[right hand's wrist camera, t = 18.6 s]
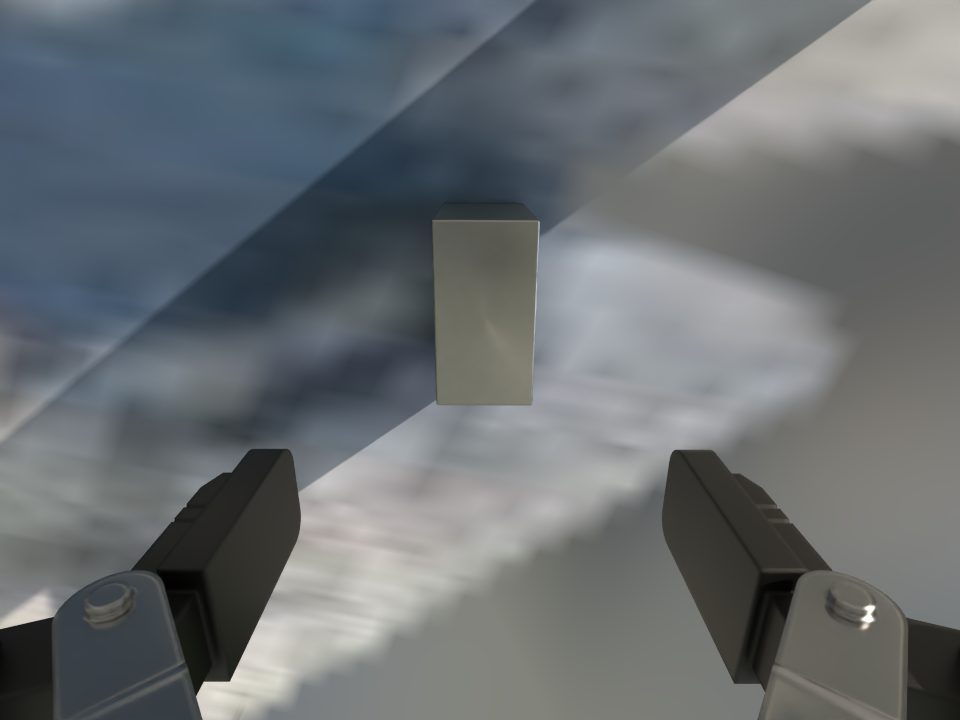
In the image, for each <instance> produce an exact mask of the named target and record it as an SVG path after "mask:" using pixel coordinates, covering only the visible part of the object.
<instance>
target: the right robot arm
mask: <svg viewBox="0 0 960 720" xmlns="http://www.w3.org/2000/svg"><path fill="white" fill-rule="evenodd" d="M300 522H301V511H300V504H299V497H298V490H297V483H296V475H295V468H294V461H293V456H292V454H291V452H290V450H289V449H251V450H249V451H248V453H247V454H246V455H245V456H244V458H243V459H242V460H241V461H240V463H239V464H238V465H237V467H236V468H235V469H234V470H233V472H232V473H222V474H221V475H219V476H218V477H216V478H214V479H213V480H211V481H210V482H208V483H207V484H205V485H204V486H202V487H201V488H200V489H199V490H198V491H197V493H196V494H195V495H194V496H193V497H192V498H191V500H190V501H189V502H188V503H187V507H186V508H183V509H182V510H181V512H180V513H179V514H178V515H177V516H176V517H175V521H174V522H171V523H170V525H169V526H168V527H167V528H166V529H165V530H164V532H163V533H162V534H161V535H160V536H159V538H158V539H157V540H156V541H155V542H154V543H153V545H152V546H151V547H150V548H149V549H148V551H147V552H146V553H145V554H144V555H143V557H142V558H141V559H140V560H139V561H138V562H137V564H136V565H135V566H134V567H133V568H132V570H131V571H125V572H121V573H116V574H113V575H110V576H107V577H104V578H102V579H100V580H97V581H95V582H93V583H91V584H89V585H87V586H86V587H84V588H83V589H81V590H79V591H78V592H77V593H75V594H74V595H73V596H71V597H70V598H69V599H68V600H67V601H66V602H65V603H64V604H63V605H62V606H61V607H60V609H59V610H58V612H57V613H56V615H55V617H52V618H47V619H43V620H39V621H34V622H30V623H26V624H21V625H17V626H13V627H8V628H4V629H0V720H202V716H201V713H200V709H199V706H198V702H197V699H196V695H197V693H198V692H199V690H200V688H201V686H202V684H203V682H230V680H231V678H232V676H233V674H234V672H235V669H236V667H237V665H238V663H239V661H240V659H241V657H242V655H243V653H244V651H245V648H246V646H247V644H248V642H249V640H250V638H251V636H252V634H253V632H254V630H255V628H256V625H257V623H258V621H259V619H260V617H261V615H262V613H263V611H264V609H265V607H266V604H267V602H268V600H269V598H270V596H271V594H272V592H273V590H274V588H275V586H276V583H277V581H278V579H279V577H280V575H281V573H282V571H283V569H284V567H285V565H286V563H287V560H288V558H289V556H290V554H291V552H292V550H293V548H294V546H295V544H296V541H297V538H298V535H299V530H300ZM662 526H663V533H664V537H665V540H666V543H667V545H668V547H669V549H670V551H671V553H672V556H673V557H674V560H675V562H676V564H677V566H678V568H679V570H680V572H681V574H682V576H683V578H684V580H685V582H686V585H687V586H688V589H689V591H690V593H691V595H692V597H693V599H694V601H695V603H696V605H697V607H698V609H699V611H700V614H701V616H702V618H703V620H704V622H705V624H706V626H707V628H708V630H709V632H710V634H711V636H712V638H713V640H714V643H715V645H716V647H717V649H718V651H719V653H720V655H721V657H722V659H723V661H724V663H725V665H726V667H727V669H728V672H729V674H730V675H731V678H732V680H733V682H734V683H735V684H761V685H762V687H763V689H764V691H765V695H764V699H763V702H762V706H761V709H760V713H759V716H758V720H960V630H957V629H952V628H948V627H944V626H939V625H935V624H931V623H926V622H922V621H918V620H913V619H909V618H906V617H905V615H904V613H903V612H902V610H901V609H900V607H899V606H898V605H897V604H896V603H895V602H894V601H893V600H892V599H891V598H890V597H889V596H887V595H886V594H885V593H883V592H882V591H881V590H879V589H877V588H876V587H874V586H873V585H871V584H869V583H867V582H865V581H863V580H860V579H858V578H856V577H853V576H850V575H847V574H844V573H839V572H835V571H832V569H831V568H830V567H829V566H828V565H827V563H826V562H825V561H824V560H823V559H822V558H821V556H820V555H819V554H818V553H817V552H816V551H815V549H814V548H813V547H812V546H811V545H810V544H809V542H808V541H807V540H806V539H805V538H804V537H803V535H802V534H801V533H800V532H799V531H798V529H797V528H796V527H795V526H794V525H793V524H792V523H789V519H788V518H787V517H786V515H785V514H784V513H783V512H782V511H781V510H780V509H777V505H776V504H775V502H774V501H773V500H772V499H771V498H770V497H769V495H768V494H767V493H766V492H765V491H764V490H763V488H761V487H760V486H758V485H757V484H755V483H753V482H752V481H750V480H749V479H747V478H746V477H744V476H743V475H741V474H732V473H731V472H730V471H729V470H728V468H727V467H726V466H725V465H724V463H723V462H722V461H721V460H720V458H719V457H718V456H717V455H716V453H715V452H714V451H712V450H674V451H673V452H672V454H671V457H670V461H669V468H668V475H667V482H666V489H665V496H664V503H663V510H662ZM239 719H240V718H238V719H236V720H239Z"/></svg>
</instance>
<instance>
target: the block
mask: <svg viewBox="0 0 960 720" xmlns="http://www.w3.org/2000/svg"><path fill="white" fill-rule="evenodd" d="M539 230H540V221H539V220H538V219H537V218H536V217H535V216H534V215H533V214H532V213H531V211H530V210H529V209H528V208H527V207H526V206H525V205H524V204H519V203H444V204H443V206H442V207H441V209H440V210H439V211H438V213H437V214H436V215H435V217H434V218H433V220H432V252H433V289H434V327H435V364H436V402H437V405H532V395H533V372H534V348H535V325H536V301H537V277H538V254H539Z"/></svg>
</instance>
